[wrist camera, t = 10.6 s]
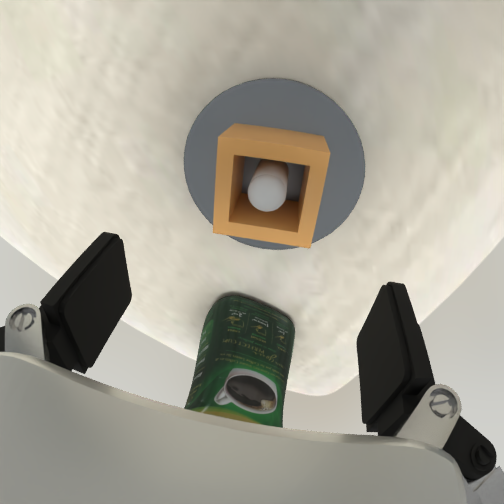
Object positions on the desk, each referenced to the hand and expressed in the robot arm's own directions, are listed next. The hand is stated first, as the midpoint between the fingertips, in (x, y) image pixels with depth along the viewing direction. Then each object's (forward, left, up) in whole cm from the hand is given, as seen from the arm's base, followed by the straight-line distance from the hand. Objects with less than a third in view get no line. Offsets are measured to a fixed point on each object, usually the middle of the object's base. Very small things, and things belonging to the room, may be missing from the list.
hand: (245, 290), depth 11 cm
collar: (0, 0, -14) cm, 14 cm away
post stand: (0, 0, -16) cm, 16 cm away
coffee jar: (0, +18, -16) cm, 24 cm away
